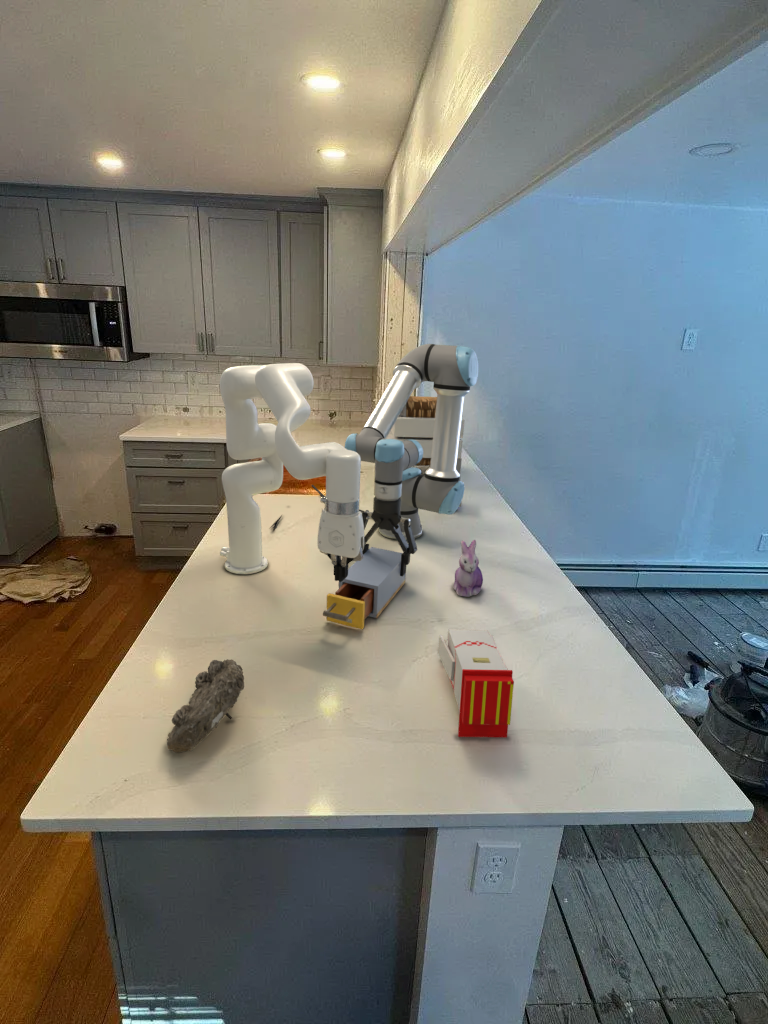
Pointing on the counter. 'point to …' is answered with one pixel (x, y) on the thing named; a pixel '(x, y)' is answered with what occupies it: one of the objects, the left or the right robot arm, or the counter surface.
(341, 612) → the drawer
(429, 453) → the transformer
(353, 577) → the cabinet
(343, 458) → the left robot arm
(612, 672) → the counter surface
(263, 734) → the counter surface
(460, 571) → the figurine
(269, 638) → the counter surface
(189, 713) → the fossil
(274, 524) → the feather
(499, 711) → the toy
